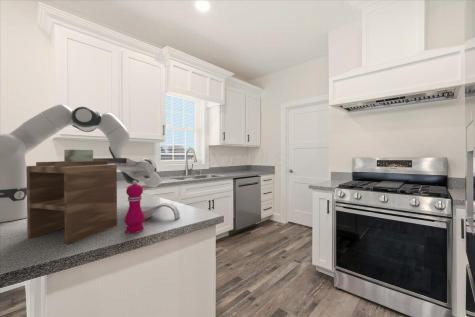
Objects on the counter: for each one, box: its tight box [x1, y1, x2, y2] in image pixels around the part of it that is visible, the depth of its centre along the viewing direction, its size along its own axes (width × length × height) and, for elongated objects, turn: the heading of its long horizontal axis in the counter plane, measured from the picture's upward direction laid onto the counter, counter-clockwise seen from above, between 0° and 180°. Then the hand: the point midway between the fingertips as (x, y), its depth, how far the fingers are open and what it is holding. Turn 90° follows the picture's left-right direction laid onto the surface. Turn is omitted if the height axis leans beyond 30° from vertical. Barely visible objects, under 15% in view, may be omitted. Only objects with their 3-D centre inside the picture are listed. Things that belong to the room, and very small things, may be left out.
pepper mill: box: [124, 180, 146, 234], centre depth 86 cm, size 7×7×20 cm
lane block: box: [63, 149, 127, 165], centre depth 95 cm, size 6×26×6 cm, turn 164°
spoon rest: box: [141, 202, 181, 220], centre depth 104 cm, size 24×12×7 cm, turn 86°
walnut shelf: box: [26, 160, 118, 245], centre depth 84 cm, size 20×20×28 cm
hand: (123, 159), depth 107 cm, fingers closed on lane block, 2 cm apart
